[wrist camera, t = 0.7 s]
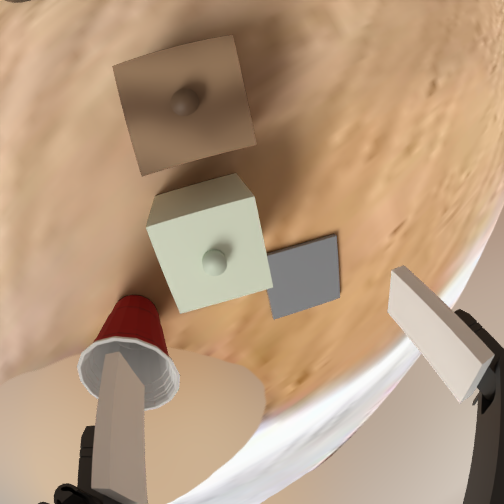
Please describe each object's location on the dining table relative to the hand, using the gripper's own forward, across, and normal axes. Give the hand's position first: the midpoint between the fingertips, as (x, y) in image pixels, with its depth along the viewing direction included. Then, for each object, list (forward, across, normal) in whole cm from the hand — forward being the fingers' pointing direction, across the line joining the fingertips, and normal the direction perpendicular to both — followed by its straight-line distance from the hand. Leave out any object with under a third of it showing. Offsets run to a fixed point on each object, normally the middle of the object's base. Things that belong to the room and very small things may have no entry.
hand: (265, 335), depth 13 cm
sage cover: (+22, -2, -3) cm, 22 cm away
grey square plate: (+22, +8, -14) cm, 27 cm away
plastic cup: (+22, -14, -12) cm, 29 cm away
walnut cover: (+22, -1, +10) cm, 24 cm away
